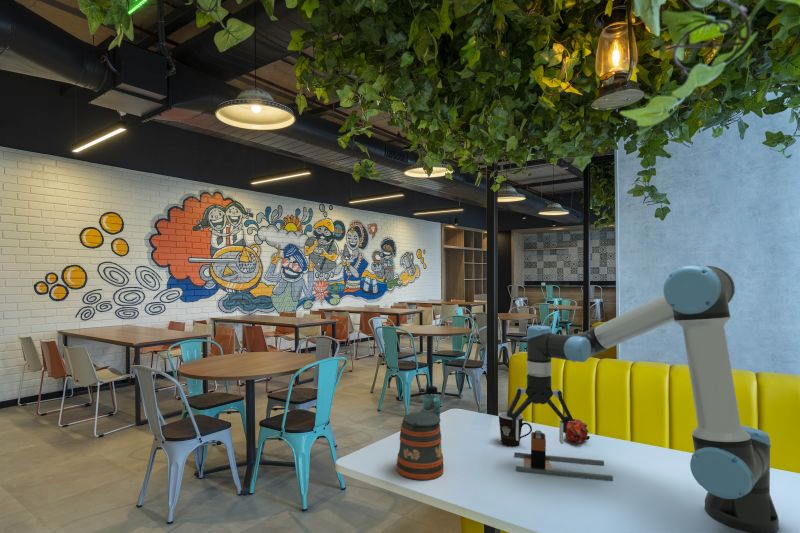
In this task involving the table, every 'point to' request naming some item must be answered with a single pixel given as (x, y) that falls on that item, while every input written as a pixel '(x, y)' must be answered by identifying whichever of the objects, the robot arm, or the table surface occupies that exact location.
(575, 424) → the dragon fruit
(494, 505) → the table surface
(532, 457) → the battery
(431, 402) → the beer stein
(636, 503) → the table surface
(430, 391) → the beverage bottle
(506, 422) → the coffee mug
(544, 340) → the robot arm
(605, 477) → the rail
